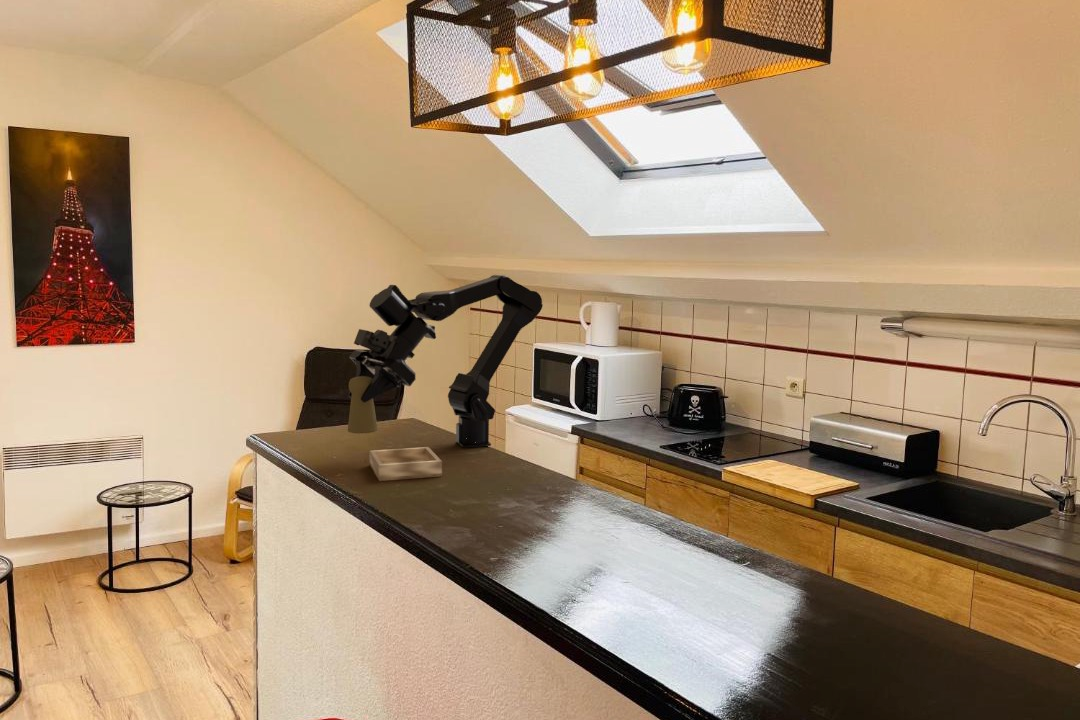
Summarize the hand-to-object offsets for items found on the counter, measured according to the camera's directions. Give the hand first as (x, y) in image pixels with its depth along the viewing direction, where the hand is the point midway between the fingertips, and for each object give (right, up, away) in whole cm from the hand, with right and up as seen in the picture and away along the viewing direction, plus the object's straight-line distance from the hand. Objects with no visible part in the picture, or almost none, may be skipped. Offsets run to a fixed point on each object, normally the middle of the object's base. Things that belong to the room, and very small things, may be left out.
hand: (356, 399), depth 169 cm
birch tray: (+10, -14, -3) cm, 18 cm away
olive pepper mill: (+1, -7, +2) cm, 7 cm away
